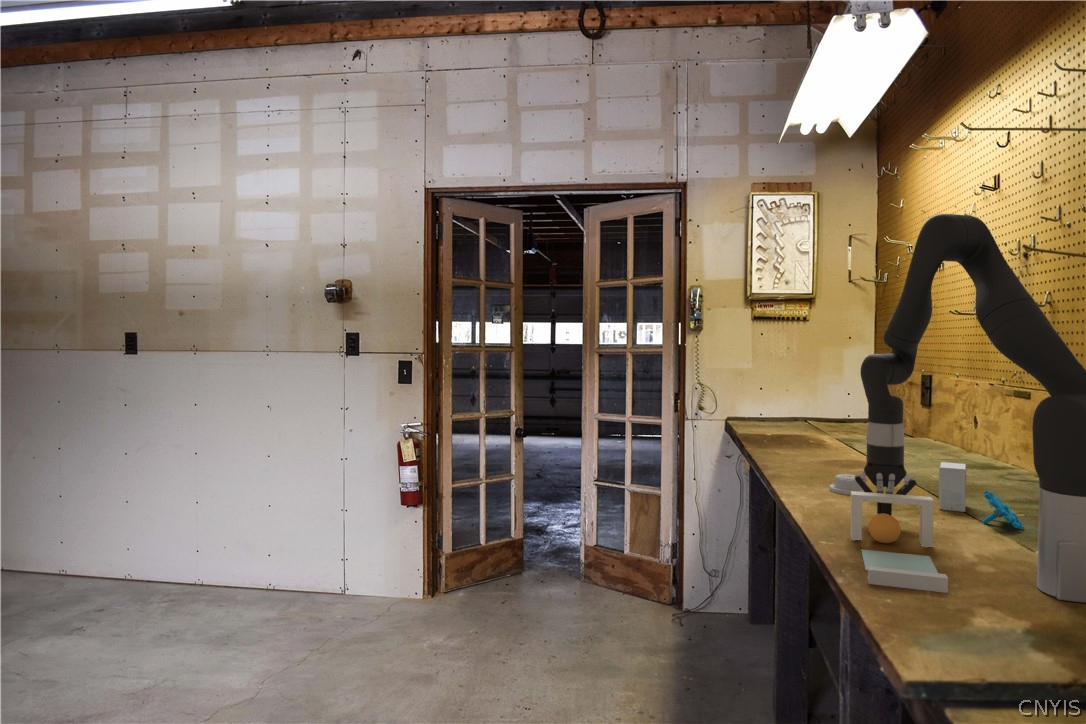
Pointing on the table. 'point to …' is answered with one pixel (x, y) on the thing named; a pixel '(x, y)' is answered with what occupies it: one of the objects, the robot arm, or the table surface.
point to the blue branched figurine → (1001, 511)
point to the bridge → (923, 501)
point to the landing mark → (898, 561)
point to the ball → (884, 528)
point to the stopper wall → (908, 579)
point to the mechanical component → (845, 484)
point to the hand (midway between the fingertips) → (884, 518)
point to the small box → (952, 486)
